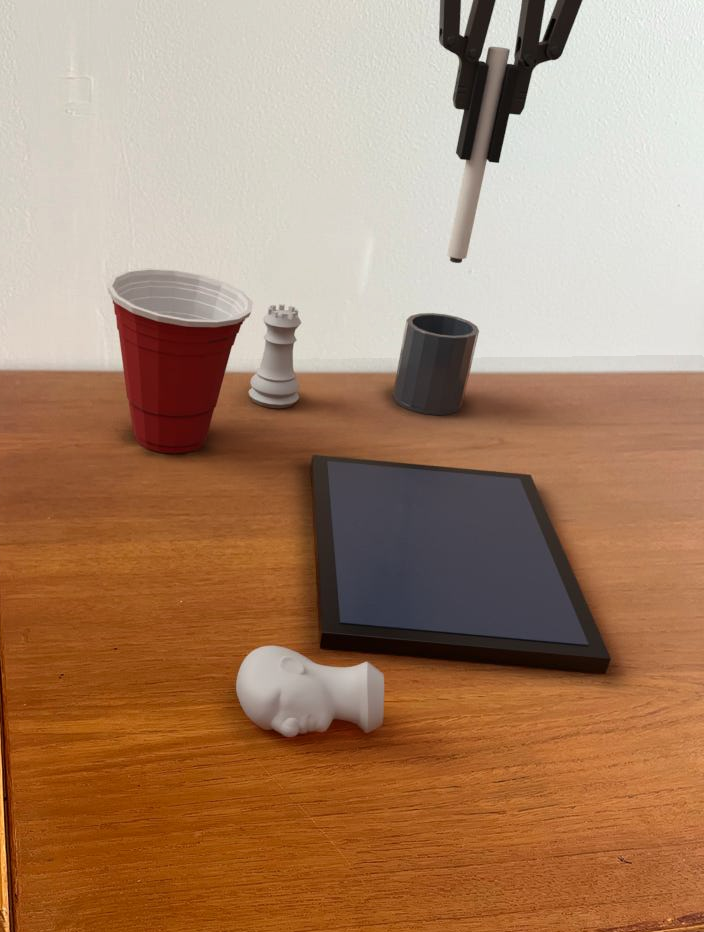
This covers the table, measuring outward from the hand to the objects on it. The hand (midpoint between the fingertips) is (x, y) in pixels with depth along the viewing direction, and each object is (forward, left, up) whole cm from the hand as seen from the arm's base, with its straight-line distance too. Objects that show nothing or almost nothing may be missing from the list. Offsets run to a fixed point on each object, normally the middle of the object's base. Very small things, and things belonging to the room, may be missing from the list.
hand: (477, 157), depth 82 cm
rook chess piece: (+14, +3, -21) cm, 25 cm away
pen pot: (0, 0, -20) cm, 20 cm away
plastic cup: (+22, +13, -21) cm, 33 cm away
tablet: (+3, +28, -20) cm, 35 cm away
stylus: (0, 0, -8) cm, 8 cm away
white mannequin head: (+12, +47, -21) cm, 53 cm away
